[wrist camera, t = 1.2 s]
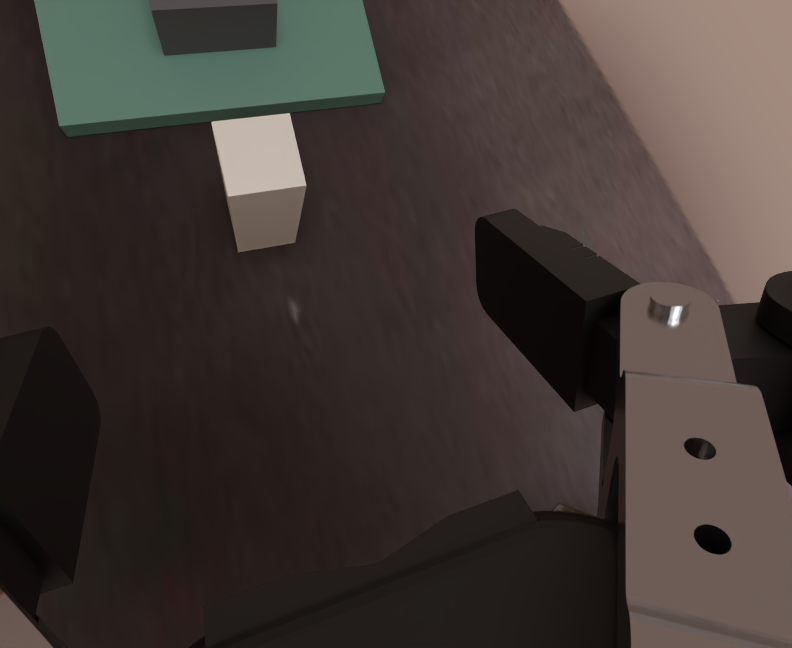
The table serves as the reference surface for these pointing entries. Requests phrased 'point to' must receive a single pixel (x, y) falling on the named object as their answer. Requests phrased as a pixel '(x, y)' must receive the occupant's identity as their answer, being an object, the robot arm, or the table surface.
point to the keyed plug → (261, 179)
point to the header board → (203, 60)
